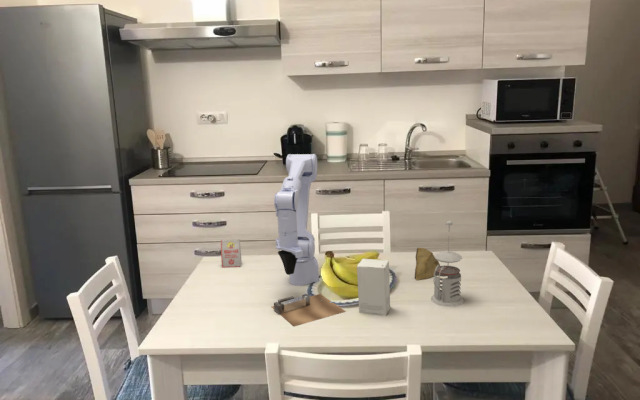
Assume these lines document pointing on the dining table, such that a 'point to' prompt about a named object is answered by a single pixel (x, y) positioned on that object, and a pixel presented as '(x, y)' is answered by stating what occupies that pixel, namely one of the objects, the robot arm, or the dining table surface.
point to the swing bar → (295, 303)
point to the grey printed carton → (230, 253)
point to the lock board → (308, 310)
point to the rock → (425, 264)
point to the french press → (447, 279)
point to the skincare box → (373, 286)
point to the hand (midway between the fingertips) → (289, 273)
